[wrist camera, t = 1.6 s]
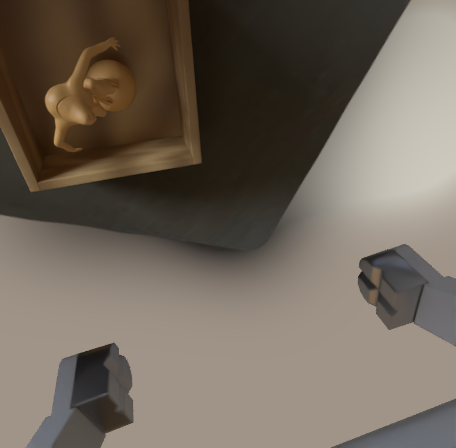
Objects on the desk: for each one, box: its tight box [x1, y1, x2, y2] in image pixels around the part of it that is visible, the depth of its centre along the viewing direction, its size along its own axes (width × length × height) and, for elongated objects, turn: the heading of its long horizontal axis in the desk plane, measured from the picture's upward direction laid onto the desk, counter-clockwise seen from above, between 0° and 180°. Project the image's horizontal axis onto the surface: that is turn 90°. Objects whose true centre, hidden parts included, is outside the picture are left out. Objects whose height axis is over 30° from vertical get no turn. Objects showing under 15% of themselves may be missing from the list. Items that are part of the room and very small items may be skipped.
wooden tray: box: [0, 0, 202, 192], centre depth 27 cm, size 15×15×6 cm
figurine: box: [45, 37, 136, 152], centre depth 24 cm, size 8×6×12 cm
